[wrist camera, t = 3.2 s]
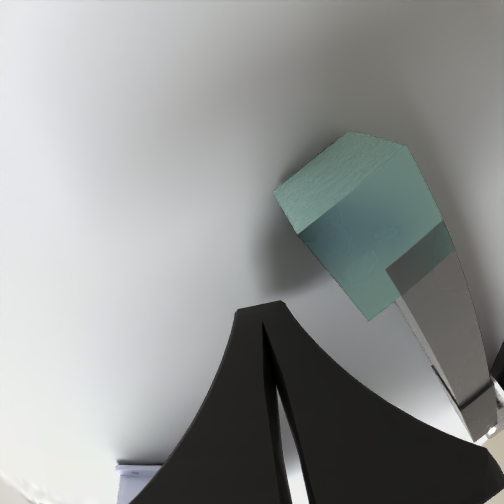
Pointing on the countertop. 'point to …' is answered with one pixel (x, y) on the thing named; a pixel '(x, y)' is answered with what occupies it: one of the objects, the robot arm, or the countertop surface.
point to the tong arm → (395, 259)
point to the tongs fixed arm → (499, 368)
